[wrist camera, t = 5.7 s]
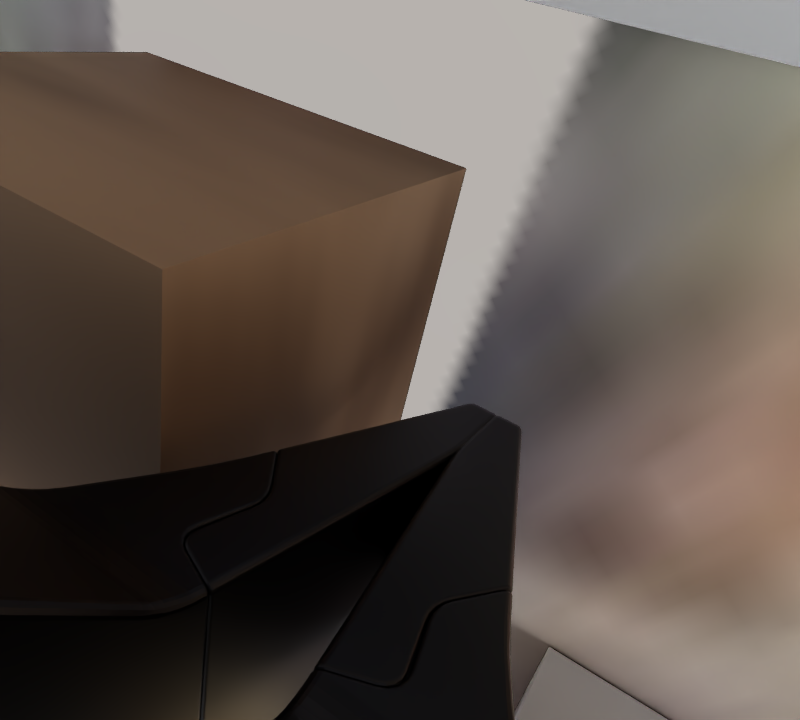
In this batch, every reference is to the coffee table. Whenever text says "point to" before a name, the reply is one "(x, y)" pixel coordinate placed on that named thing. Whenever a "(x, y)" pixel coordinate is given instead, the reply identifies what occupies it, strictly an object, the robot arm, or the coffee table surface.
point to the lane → (720, 27)
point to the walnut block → (198, 269)
